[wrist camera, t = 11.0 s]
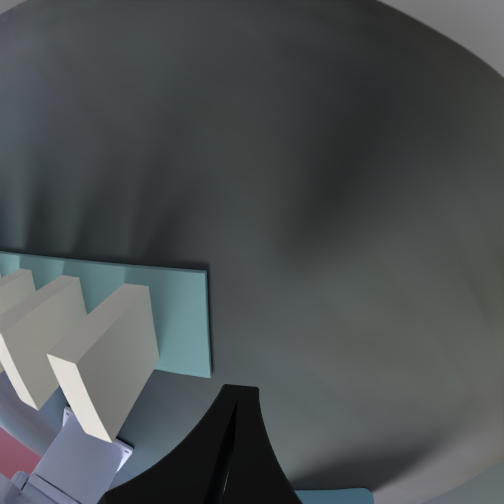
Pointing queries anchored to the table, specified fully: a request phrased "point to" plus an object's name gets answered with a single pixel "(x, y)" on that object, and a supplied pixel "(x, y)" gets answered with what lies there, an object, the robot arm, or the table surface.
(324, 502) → the data package
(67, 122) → the table surface
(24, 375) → the cream domino
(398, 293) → the table surface
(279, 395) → the table surface
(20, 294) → the cream domino
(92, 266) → the teal mat
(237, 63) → the table surface
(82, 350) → the cream domino
